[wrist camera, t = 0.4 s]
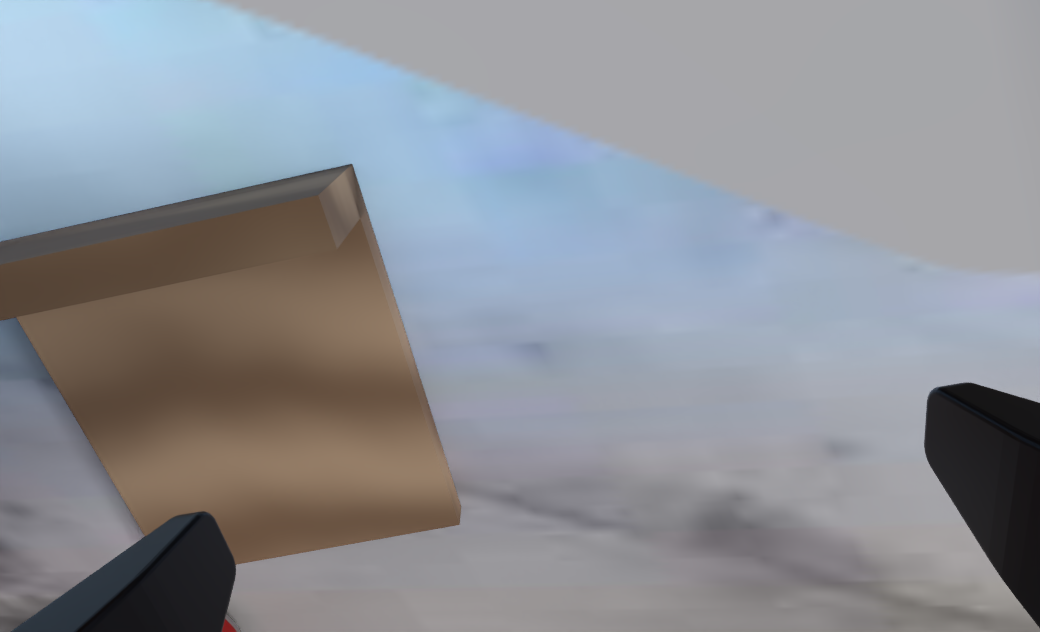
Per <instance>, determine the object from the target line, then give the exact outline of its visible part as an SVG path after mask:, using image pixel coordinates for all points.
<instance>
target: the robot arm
mask: <svg viewBox="0 0 1040 632" xmlns="http://www.w3.org/2000/svg"><path fill="white" fill-rule="evenodd" d="M924 448H925V453H926V457H927V460H928V462H929V464H930V466H931V468H932V469H933V471H934V473H935V474H936V476H937V477H938V479H939V481H940V482H941V484H942V485H943V487H944V489H945V490H946V492H947V493H948V495H949V497H950V498H951V500H952V501H953V503H954V505H955V506H956V508H957V509H958V511H959V513H960V514H961V516H962V517H963V519H964V520H965V522H966V524H967V525H968V527H969V528H970V530H971V532H972V533H973V535H974V536H975V538H976V540H977V541H978V543H979V544H980V546H981V548H982V549H983V551H984V552H985V554H986V556H987V557H988V559H989V560H990V562H991V563H992V565H993V566H994V568H995V569H996V571H997V572H998V574H999V575H1000V577H1001V578H1002V579H1003V581H1004V582H1005V583H1006V585H1007V586H1008V587H1009V589H1010V590H1011V591H1012V593H1013V594H1014V595H1015V597H1016V598H1017V599H1018V601H1019V602H1020V603H1021V605H1022V606H1023V607H1024V608H1025V610H1026V611H1027V612H1028V614H1029V615H1030V616H1031V617H1032V619H1033V620H1034V621H1035V623H1036V624H1037V625H1038V626H1039V628H1040V403H1038V402H1035V401H1031V400H1028V399H1025V398H1021V397H1018V396H1014V395H1011V394H1008V393H1004V392H1001V391H998V390H994V389H991V388H987V387H984V386H981V385H977V384H974V383H959V384H953V385H947V386H942V387H936V388H934V389H933V390H932V391H931V392H930V393H929V396H928V400H927V411H926V425H925V440H924ZM235 575H236V565H235V560H234V557H233V555H232V553H231V551H230V549H229V546H228V544H227V542H226V540H225V538H224V536H223V534H222V532H221V530H220V528H219V526H218V524H217V522H216V520H215V518H214V517H213V516H212V515H211V514H210V513H208V512H205V511H200V512H194V513H188V514H182V515H177V516H175V517H172V518H171V519H169V520H168V521H166V522H165V523H164V524H162V525H161V526H159V527H158V528H157V529H155V530H154V531H152V532H151V533H150V534H148V535H147V536H145V537H144V538H142V539H141V540H140V541H138V542H137V543H135V544H134V545H133V546H131V547H130V548H128V549H127V550H126V551H124V552H123V553H121V554H120V555H118V556H117V557H116V558H114V559H113V560H111V561H110V562H109V563H107V564H106V565H104V566H103V567H101V568H100V569H99V570H97V571H96V572H94V573H93V574H92V575H90V576H89V577H87V578H86V579H85V580H83V581H82V582H80V583H79V584H77V585H76V586H75V587H73V588H72V589H70V590H69V591H68V592H66V593H65V594H63V595H62V596H61V597H59V598H58V599H56V600H55V601H53V602H52V603H51V604H49V605H48V606H46V607H45V608H44V609H42V610H41V611H39V612H38V613H36V614H35V615H34V616H32V617H31V618H29V619H28V620H27V621H25V622H24V623H22V624H21V625H20V626H18V627H17V628H15V629H14V630H12V631H11V632H222V629H223V625H224V621H225V617H226V613H227V609H228V605H229V601H230V597H231V593H232V589H233V585H234V581H235Z"/></svg>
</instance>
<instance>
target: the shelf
mask: <svg viewBox="0 0 1040 632" xmlns="http://www.w3.org/2000/svg"><path fill="white" fill-rule="evenodd" d="M15 317H16V318H17V320H18V321H19V323H20V325H21V327H22V328H23V330H24V332H25V333H26V335H27V337H28V338H29V340H30V342H31V344H32V345H33V347H34V349H35V350H36V352H37V354H38V355H39V357H40V359H41V361H42V362H43V364H44V366H45V367H46V369H47V371H48V372H49V374H50V376H51V378H52V379H53V381H54V383H55V384H56V386H57V388H58V389H59V391H60V393H61V394H62V396H63V398H64V400H65V401H66V403H67V405H68V406H69V408H70V410H71V411H72V413H73V415H74V417H75V418H76V420H77V422H78V423H79V425H80V427H81V428H82V430H83V432H84V434H85V435H86V437H87V439H88V440H89V442H90V444H91V445H92V447H93V449H94V450H95V452H96V454H97V456H98V457H99V459H100V461H101V462H102V464H103V466H104V467H105V469H106V471H107V473H108V474H109V476H110V478H111V479H112V481H113V483H114V484H115V486H116V488H117V490H118V491H119V493H120V495H121V496H122V498H123V500H124V501H125V503H126V505H127V507H128V508H129V510H130V512H131V513H132V515H133V517H134V518H135V520H136V522H137V523H138V525H139V527H140V529H141V530H142V532H143V534H144V535H145V536H147V535H148V534H150V533H151V532H152V531H154V530H155V529H157V528H158V527H159V526H161V525H162V524H164V523H165V522H166V521H168V520H169V519H171V518H172V517H175V516H177V515H182V514H188V513H194V512H200V511H205V512H208V513H210V514H211V515H212V516H213V517H214V518H215V520H216V522H217V524H218V526H219V528H220V530H221V532H222V534H223V536H224V538H225V540H226V542H227V544H228V546H229V549H230V551H231V553H232V555H233V557H234V560H235V565H236V564H241V563H247V562H252V561H258V560H264V559H269V558H275V557H281V556H286V555H292V554H297V553H303V552H309V551H314V550H320V549H325V548H331V547H337V546H342V545H348V544H354V543H359V542H365V541H370V540H376V539H382V538H387V537H393V536H399V535H404V534H410V533H415V532H421V531H427V530H432V529H438V528H444V527H449V526H455V525H459V524H460V514H461V505H460V502H459V499H458V496H457V492H456V489H455V486H454V483H453V480H452V477H451V474H450V470H449V467H448V464H447V461H446V458H445V455H444V452H443V448H442V445H441V442H440V439H439V436H438V433H437V429H436V426H435V423H434V420H433V417H432V414H431V411H430V407H429V404H428V401H427V398H426V395H425V392H424V389H423V385H422V382H421V379H420V376H419V373H418V370H417V367H416V363H415V360H414V357H413V354H412V351H411V348H410V344H409V341H408V338H407V335H406V332H405V329H404V326H403V322H402V319H401V316H400V313H399V310H398V307H397V304H396V300H395V297H394V294H393V291H392V288H391V285H390V282H389V278H388V275H387V272H386V269H385V266H384V263H383V259H382V256H381V253H380V250H379V247H378V244H377V241H376V237H375V234H374V231H373V228H372V225H371V222H370V219H369V215H368V212H367V209H366V206H365V203H364V200H363V197H362V193H361V190H360V187H359V184H358V181H357V178H356V174H355V171H354V168H353V165H352V164H350V165H346V166H341V167H336V168H332V169H327V170H323V171H318V172H314V173H309V174H305V175H300V176H296V177H291V178H287V179H282V180H278V181H273V182H269V183H264V184H260V185H255V186H251V187H246V188H242V189H237V190H233V191H228V192H223V193H219V194H214V195H210V196H205V197H201V198H196V199H192V200H187V201H183V202H178V203H174V204H169V205H165V206H160V207H156V208H151V209H147V210H142V211H138V212H133V213H129V214H124V215H120V216H115V217H110V218H106V219H101V220H97V221H92V222H88V223H83V224H79V225H74V226H70V227H65V228H61V229H56V230H52V231H47V232H43V233H38V234H34V235H29V236H25V237H20V238H16V239H11V240H7V241H2V242H0V321H1V320H6V319H10V318H15Z"/></svg>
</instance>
